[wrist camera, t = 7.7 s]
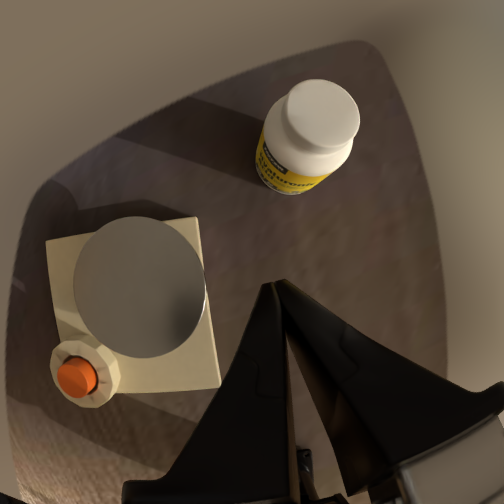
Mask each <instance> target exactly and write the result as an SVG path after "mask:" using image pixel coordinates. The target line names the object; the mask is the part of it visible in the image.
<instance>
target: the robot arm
mask: <svg viewBox="0 0 504 504" xmlns="http://www.w3.org/2000/svg"><path fill="white" fill-rule="evenodd" d="M286 337H287V340H288V342H289V345H290V347H291V349H292V352H293V354H294V357H295V359H296V361H297V364H298V366H299V368H300V371H301V373H302V375H303V378H304V380H305V383H306V385H307V387H308V390H309V392H310V394H311V397H312V399H313V402H314V404H315V406H316V409H317V411H318V413H319V416H320V418H321V420H322V423H323V425H324V428H325V430H326V432H327V435H328V437H329V439H330V442H331V444H332V447H333V450H334V453H335V456H336V459H337V462H338V466H339V469H340V472H341V476H342V479H343V483H344V486H345V490H346V493H347V496H348V497H350V496H353V495H356V494H359V493H362V492H365V491H368V493H369V497H370V500H371V504H504V428H503V426H502V424H501V422H500V420H499V418H498V415H499V414H500V413H501V412H502V411H503V410H504V382H503V381H500V382H498V383H496V384H494V385H493V386H491V387H489V388H488V389H486V390H484V391H482V392H470V391H468V390H466V389H464V388H462V387H460V386H458V385H456V384H454V383H452V382H450V381H448V380H447V379H445V378H443V377H441V376H439V375H437V374H435V373H433V372H431V371H429V370H427V369H426V368H424V367H422V366H420V365H418V364H416V363H414V362H412V361H410V360H409V359H407V358H405V357H403V356H401V355H399V354H397V353H396V352H394V351H392V350H390V349H388V348H386V347H384V346H382V345H381V344H379V343H377V342H375V341H374V340H372V339H370V338H368V337H367V336H365V335H364V334H362V333H361V332H359V331H358V330H356V329H355V328H353V327H352V326H351V325H349V324H347V323H346V322H345V321H343V320H342V319H340V318H339V317H338V316H336V315H335V314H333V313H332V312H331V311H329V310H328V309H326V308H325V307H324V306H322V305H321V304H320V303H318V302H317V301H315V300H314V299H313V298H311V297H310V296H308V295H307V294H306V293H304V292H303V291H301V290H300V289H299V288H297V287H296V286H295V285H293V284H292V283H290V282H289V281H288V280H286V279H282V280H278V281H275V282H274V283H273V282H269V283H265V284H262V286H261V288H260V291H259V294H258V296H257V299H256V302H255V304H254V307H253V310H252V312H251V315H250V318H249V320H248V323H247V325H246V328H245V331H244V333H243V336H242V339H241V341H240V344H239V346H238V349H237V351H236V353H235V356H234V359H233V361H232V363H231V366H230V368H229V370H228V372H227V374H226V376H225V378H224V380H223V382H222V383H221V385H220V387H219V389H218V390H217V392H216V394H215V396H214V397H213V399H212V401H211V402H210V404H209V406H208V407H207V409H206V411H205V412H204V414H203V416H202V418H201V419H200V421H199V423H198V424H197V426H196V428H195V429H194V431H193V433H192V434H191V436H190V437H189V439H188V441H187V442H186V444H185V446H184V447H183V449H182V451H181V452H180V454H179V455H178V457H177V459H176V460H175V462H174V463H173V465H172V467H171V468H170V470H169V471H168V472H167V474H166V475H164V476H163V477H162V478H159V479H157V480H128V481H125V482H124V483H123V487H122V495H121V496H122V498H121V503H122V504H349V503H348V502H347V500H346V499H345V498H344V497H343V496H342V494H341V493H338V494H335V495H334V496H331V497H327V498H323V499H319V497H318V495H317V492H316V489H315V487H314V479H313V459H312V452H311V450H310V449H303V450H298V451H296V443H295V430H294V417H293V405H292V394H291V382H290V371H289V361H288V350H287V341H286ZM306 453H308V454H307V455H305V454H306ZM0 504H27V503H25V502H23V501H21V500H18V499H15V498H13V497H11V496H8V495H6V494H3V493H1V492H0Z"/></svg>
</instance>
